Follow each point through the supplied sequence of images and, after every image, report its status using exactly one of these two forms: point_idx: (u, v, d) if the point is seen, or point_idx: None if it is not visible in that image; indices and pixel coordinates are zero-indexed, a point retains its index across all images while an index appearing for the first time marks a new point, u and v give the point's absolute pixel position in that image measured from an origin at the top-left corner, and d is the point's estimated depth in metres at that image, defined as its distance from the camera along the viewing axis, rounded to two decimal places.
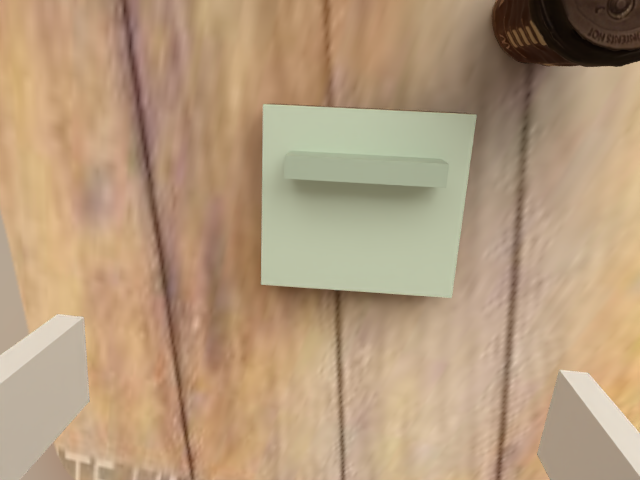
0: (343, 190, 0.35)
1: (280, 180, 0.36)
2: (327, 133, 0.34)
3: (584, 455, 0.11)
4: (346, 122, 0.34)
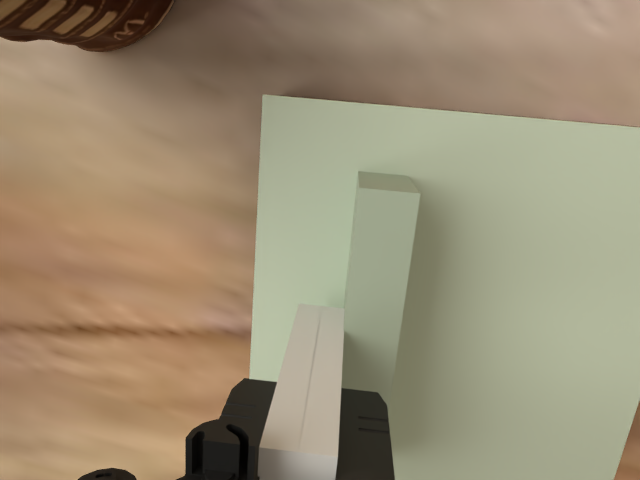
0: (412, 368, 0.17)
1: None
2: None
3: None
4: (277, 356, 0.17)
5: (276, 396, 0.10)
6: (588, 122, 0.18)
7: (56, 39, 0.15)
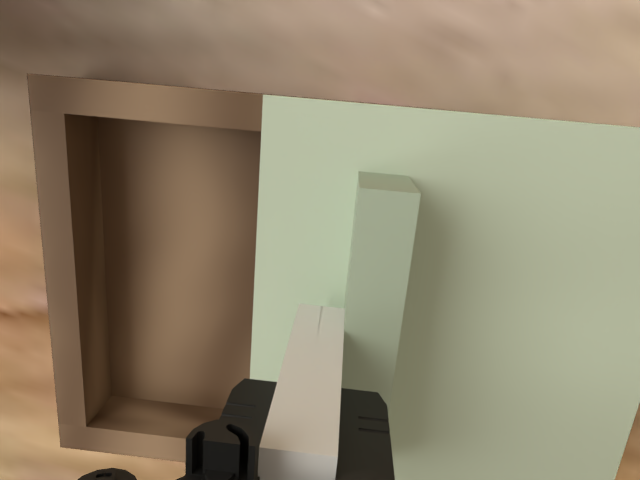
0: (412, 368, 0.17)
1: None
2: None
3: None
4: (277, 356, 0.17)
5: (276, 396, 0.10)
6: None
7: None
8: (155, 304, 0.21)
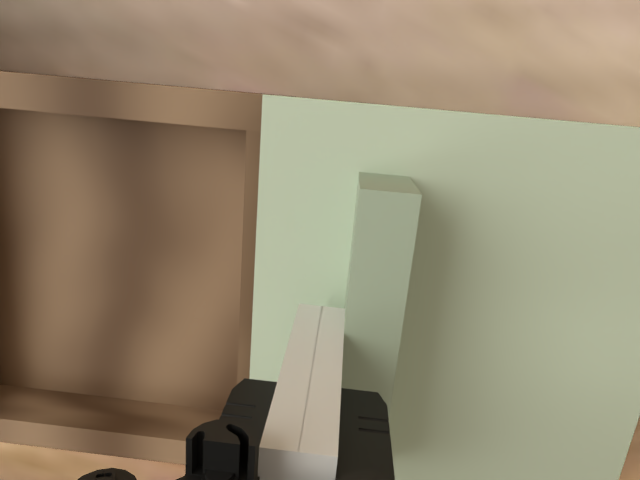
0: (413, 371, 0.17)
1: None
2: None
3: None
4: (277, 358, 0.17)
5: (276, 396, 0.10)
6: None
7: None
8: (36, 293, 0.21)
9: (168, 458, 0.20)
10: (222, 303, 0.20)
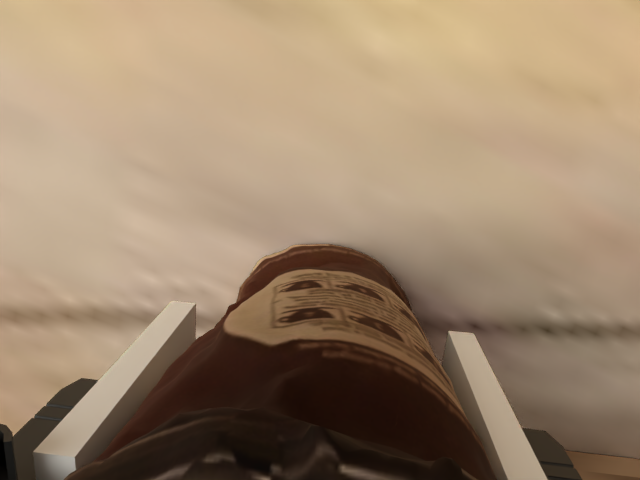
0: None
1: None
2: None
3: None
4: None
5: (86, 397, 0.10)
6: None
7: None
8: None
9: None
10: None
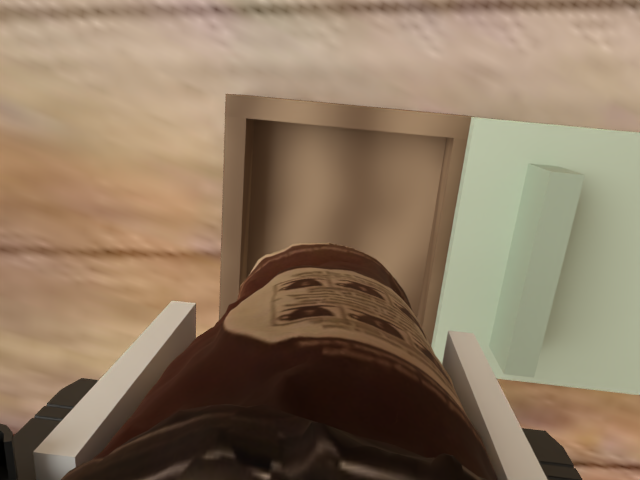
0: None
1: None
2: (474, 302, 0.28)
3: None
4: (463, 280, 0.27)
5: (86, 397, 0.10)
6: None
7: None
8: (280, 245, 0.31)
9: None
10: (408, 251, 0.30)
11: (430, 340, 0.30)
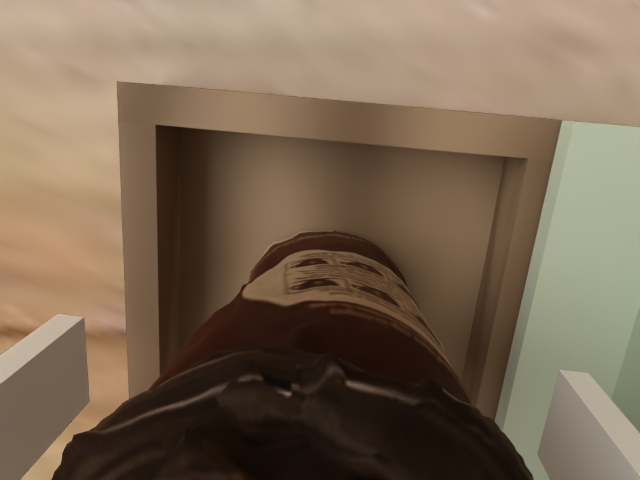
0: None
1: None
2: None
3: (584, 455, 0.11)
4: (539, 405, 0.16)
5: None
6: None
7: None
8: None
9: None
10: None
11: None
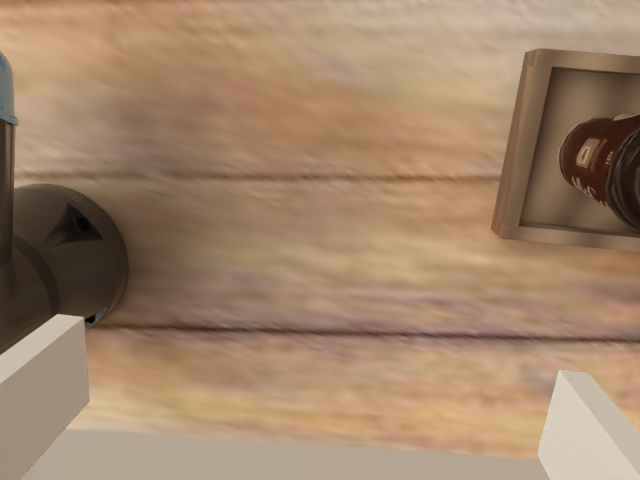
0: None
1: None
2: None
3: (584, 455, 0.11)
4: None
5: None
6: None
7: None
8: (546, 167, 0.41)
9: (621, 247, 0.40)
10: None
11: None
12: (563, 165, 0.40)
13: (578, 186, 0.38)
